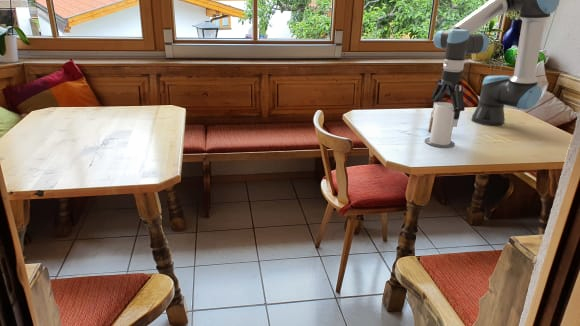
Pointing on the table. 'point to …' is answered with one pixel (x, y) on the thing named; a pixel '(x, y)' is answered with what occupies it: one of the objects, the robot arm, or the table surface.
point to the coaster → (438, 144)
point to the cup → (442, 124)
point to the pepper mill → (431, 123)
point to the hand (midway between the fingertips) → (443, 121)
